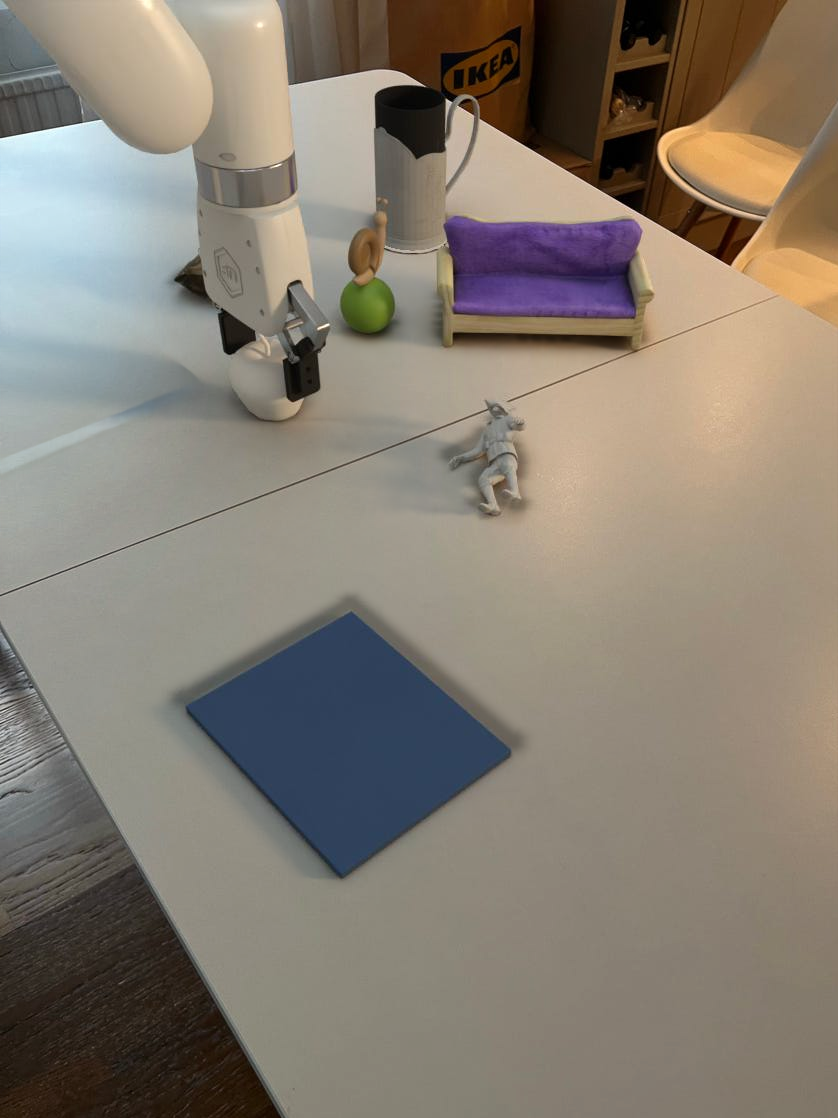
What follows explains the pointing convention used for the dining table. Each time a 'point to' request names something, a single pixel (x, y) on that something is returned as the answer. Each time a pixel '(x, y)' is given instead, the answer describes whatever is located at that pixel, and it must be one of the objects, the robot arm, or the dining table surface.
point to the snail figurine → (368, 280)
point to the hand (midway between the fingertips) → (271, 371)
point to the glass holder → (415, 163)
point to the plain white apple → (262, 379)
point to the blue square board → (347, 740)
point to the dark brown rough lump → (193, 277)
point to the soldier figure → (497, 454)
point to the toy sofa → (543, 277)
